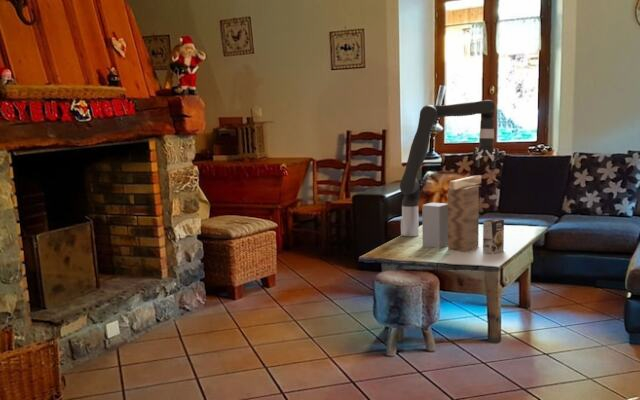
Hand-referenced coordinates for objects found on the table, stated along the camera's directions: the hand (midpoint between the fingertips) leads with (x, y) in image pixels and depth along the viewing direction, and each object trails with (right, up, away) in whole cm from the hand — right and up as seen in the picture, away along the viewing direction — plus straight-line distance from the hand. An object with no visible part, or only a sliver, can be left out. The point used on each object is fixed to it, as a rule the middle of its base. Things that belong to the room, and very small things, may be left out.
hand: (485, 167), depth 333 cm
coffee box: (-3, -44, -25) cm, 51 cm away
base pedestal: (-28, -42, -7) cm, 51 cm away
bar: (-15, -11, -18) cm, 26 cm away
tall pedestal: (-16, -43, -16) cm, 48 cm away
